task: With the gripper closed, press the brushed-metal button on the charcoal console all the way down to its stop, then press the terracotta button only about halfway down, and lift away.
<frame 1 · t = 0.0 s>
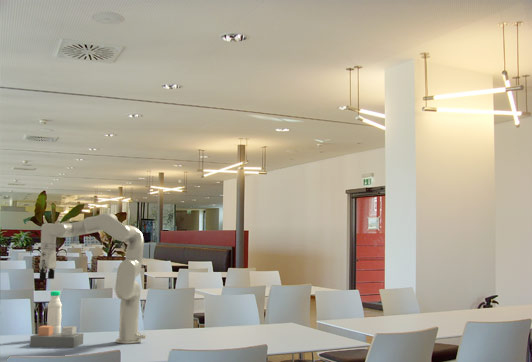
hand: (46, 279, 322), 31 cm above the table, fingers open, 9 cm apart
terracotta button: (45, 331, 305), point 6 cm above the table, slide at 0.0 cm
water bottle: (53, 339, 320), on the table
grey button: (69, 332, 304), point 6 cm above the table, slide at 0.0 cm
console: (56, 345, 304), on the table
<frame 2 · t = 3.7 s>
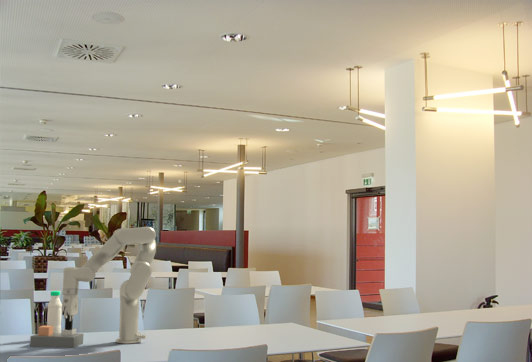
hand: (68, 329, 304), 8 cm above the table, fingers closed
grey button: (69, 334, 304), point 5 cm above the table, slide at 1.2 cm, touching gripper
everything else where it was.
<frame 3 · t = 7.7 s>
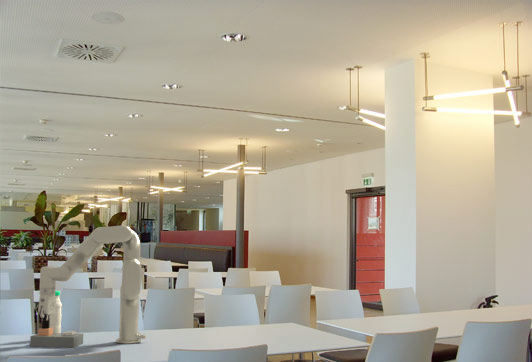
hand: (45, 328, 305), 8 cm above the table, fingers closed
terracotta button: (45, 333, 305), point 6 cm above the table, slide at 1.0 cm, touching gripper
grey button: (68, 337, 303), point 4 cm above the table, slide at 2.5 cm
everything else where it was.
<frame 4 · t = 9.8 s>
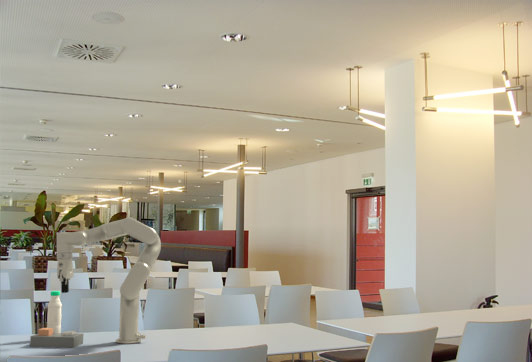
hand: (65, 292, 311), 25 cm above the table, fingers closed
terracotta button: (45, 333, 305), point 5 cm above the table, slide at 1.1 cm
everything else where it was.
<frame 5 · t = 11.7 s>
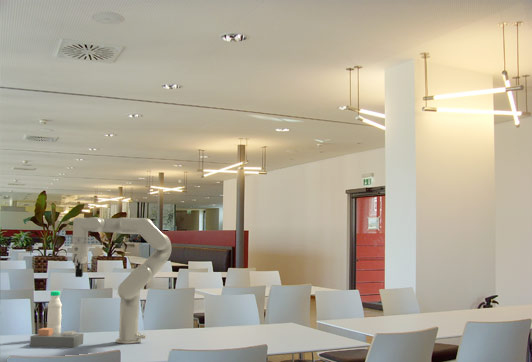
hand: (78, 276, 316), 33 cm above the table, fingers closed
nothing on the table moved.
at the end: grey button slide at 2.5 cm; terracotta button slide at 1.1 cm; water bottle moved 0.2 cm from its start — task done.
